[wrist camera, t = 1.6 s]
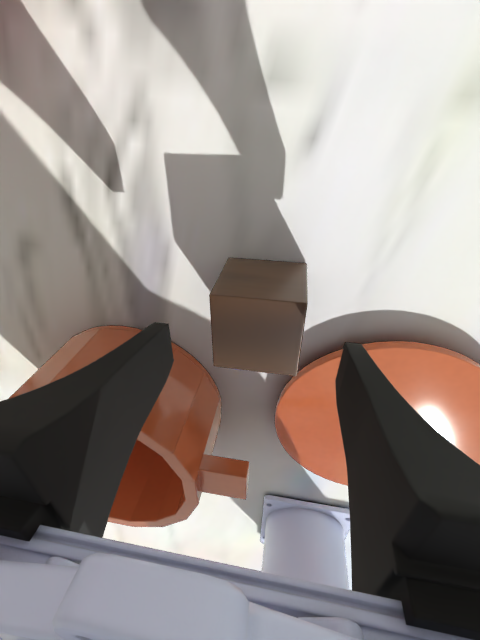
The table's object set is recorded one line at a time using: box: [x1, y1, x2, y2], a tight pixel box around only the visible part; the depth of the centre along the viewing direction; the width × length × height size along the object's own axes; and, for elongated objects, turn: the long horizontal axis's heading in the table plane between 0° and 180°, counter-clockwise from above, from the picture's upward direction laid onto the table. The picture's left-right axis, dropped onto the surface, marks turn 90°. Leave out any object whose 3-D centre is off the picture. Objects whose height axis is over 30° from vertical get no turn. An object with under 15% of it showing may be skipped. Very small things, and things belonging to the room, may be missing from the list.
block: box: [210, 258, 307, 376], centre depth 15 cm, size 4×4×4 cm
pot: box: [9, 326, 249, 527], centre depth 21 cm, size 13×18×6 cm
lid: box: [275, 341, 480, 486], centre depth 19 cm, size 14×14×5 cm
